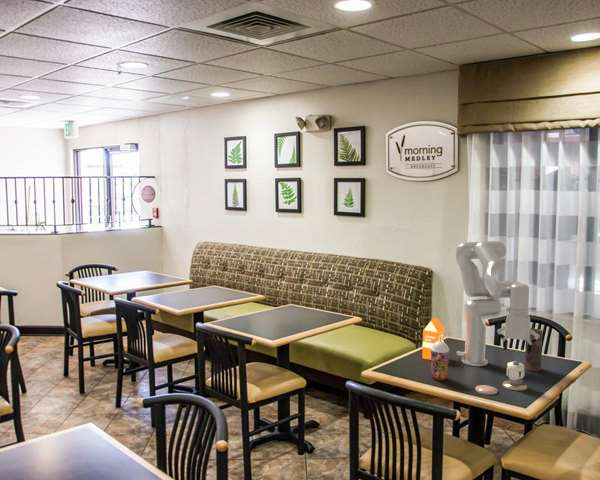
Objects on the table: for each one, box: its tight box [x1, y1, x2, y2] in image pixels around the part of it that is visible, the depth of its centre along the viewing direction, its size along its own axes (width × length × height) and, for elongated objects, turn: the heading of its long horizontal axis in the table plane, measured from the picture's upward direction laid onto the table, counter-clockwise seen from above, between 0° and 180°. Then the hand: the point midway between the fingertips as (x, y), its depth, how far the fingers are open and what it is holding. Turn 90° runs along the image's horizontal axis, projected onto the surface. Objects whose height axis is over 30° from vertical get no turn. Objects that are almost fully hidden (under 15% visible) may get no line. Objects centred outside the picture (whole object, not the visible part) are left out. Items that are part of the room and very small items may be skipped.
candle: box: [524, 327, 543, 372], centre depth 266 cm, size 8×7×20 cm
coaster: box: [475, 384, 499, 396], centre depth 239 cm, size 9×9×1 cm
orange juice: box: [421, 317, 445, 361], centre depth 283 cm, size 8×9×20 cm
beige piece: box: [502, 372, 528, 392], centre depth 244 cm, size 10×10×8 cm
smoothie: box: [430, 335, 451, 381], centre depth 252 cm, size 8×8×20 cm
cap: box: [506, 360, 526, 379], centre depth 243 cm, size 7×7×6 cm
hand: (517, 351), depth 242 cm, fingers open, 9 cm apart
